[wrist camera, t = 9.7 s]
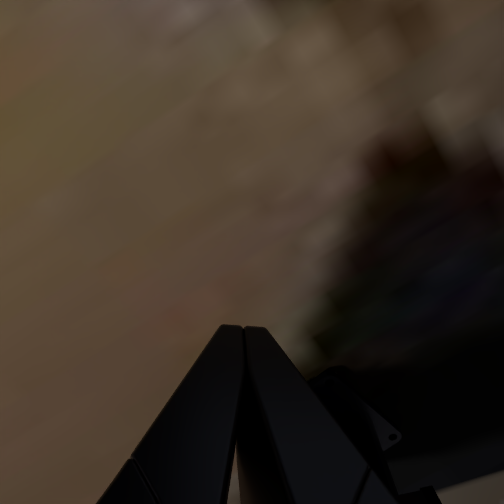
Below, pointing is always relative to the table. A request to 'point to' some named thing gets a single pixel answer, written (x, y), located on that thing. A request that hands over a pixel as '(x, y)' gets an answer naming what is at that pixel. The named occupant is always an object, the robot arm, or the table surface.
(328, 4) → the table surface
